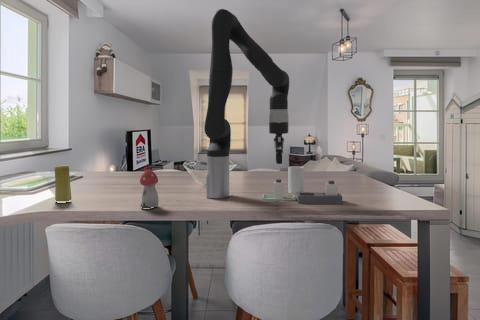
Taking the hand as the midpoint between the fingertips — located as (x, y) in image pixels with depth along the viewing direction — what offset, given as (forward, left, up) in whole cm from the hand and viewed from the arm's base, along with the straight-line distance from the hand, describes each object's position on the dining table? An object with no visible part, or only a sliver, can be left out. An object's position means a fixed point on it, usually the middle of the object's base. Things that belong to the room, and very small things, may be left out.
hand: (278, 162), depth 156 cm
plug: (0, 0, -15) cm, 15 cm away
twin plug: (+19, -7, -14) cm, 25 cm away
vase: (-85, -7, -16) cm, 87 cm away
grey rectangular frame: (+15, -7, -15) cm, 22 cm away
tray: (0, 0, -15) cm, 15 cm away
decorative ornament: (-48, -15, -16) cm, 53 cm away
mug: (+8, +15, -16) cm, 23 cm away
